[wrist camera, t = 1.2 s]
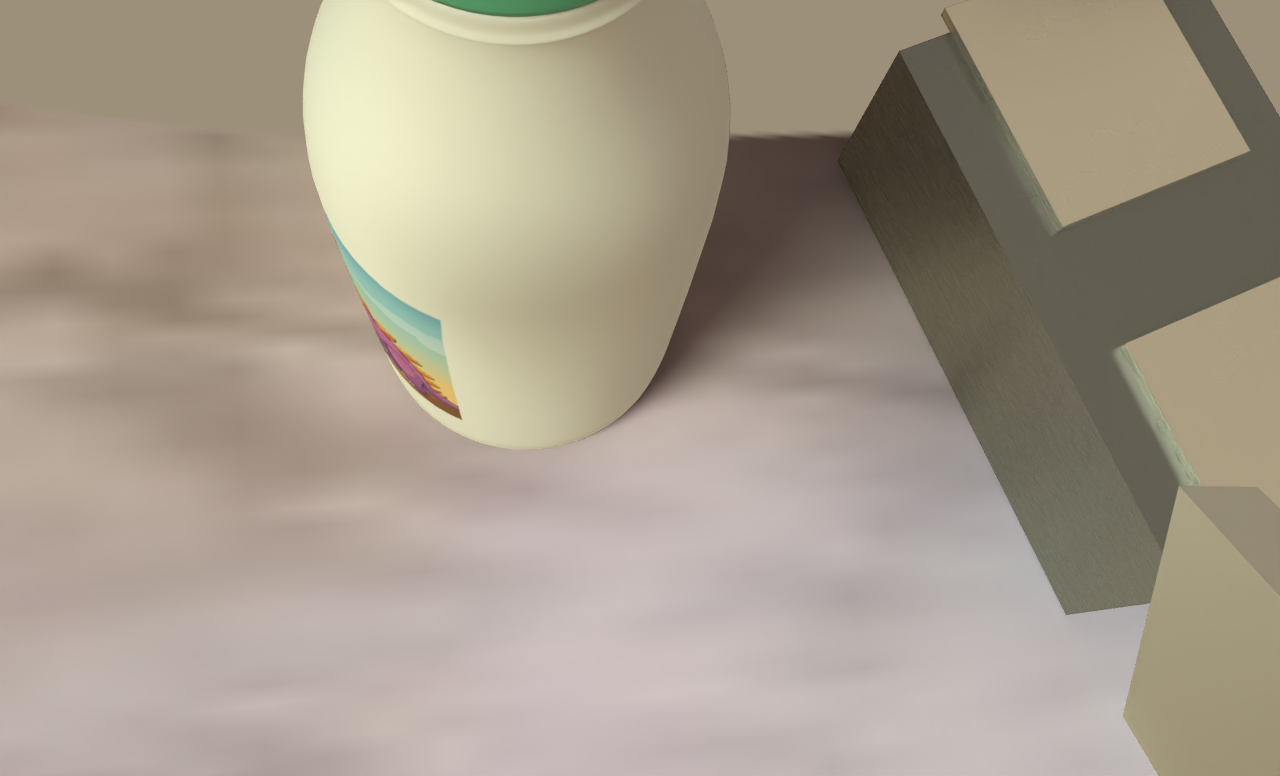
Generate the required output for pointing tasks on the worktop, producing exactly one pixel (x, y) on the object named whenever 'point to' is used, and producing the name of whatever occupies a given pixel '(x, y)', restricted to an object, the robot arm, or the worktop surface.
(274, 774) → the worktop surface
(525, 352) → the milk bottle
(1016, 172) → the drawer cabinet
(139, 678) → the worktop surface
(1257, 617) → the robot arm
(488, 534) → the worktop surface
